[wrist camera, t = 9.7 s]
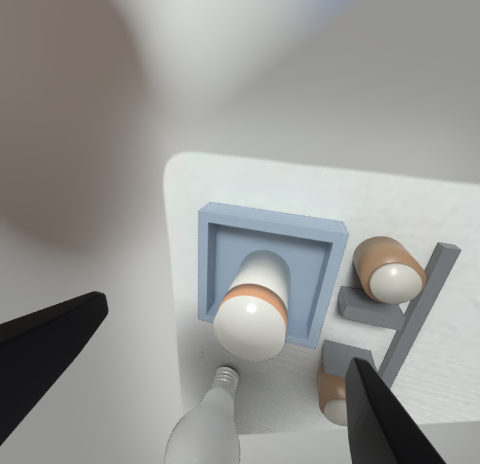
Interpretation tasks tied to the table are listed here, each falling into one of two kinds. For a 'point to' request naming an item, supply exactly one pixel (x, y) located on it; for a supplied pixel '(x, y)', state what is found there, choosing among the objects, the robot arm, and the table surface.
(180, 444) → the lightbulb
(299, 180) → the table surface
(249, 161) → the table surface
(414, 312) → the grey bar and blocks
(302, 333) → the tray
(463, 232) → the table surface
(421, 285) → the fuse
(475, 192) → the table surface
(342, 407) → the cylinder
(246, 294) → the cylinder
